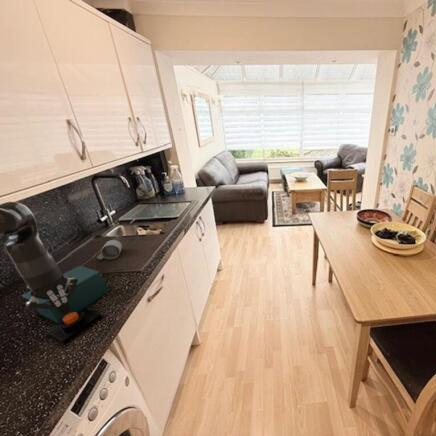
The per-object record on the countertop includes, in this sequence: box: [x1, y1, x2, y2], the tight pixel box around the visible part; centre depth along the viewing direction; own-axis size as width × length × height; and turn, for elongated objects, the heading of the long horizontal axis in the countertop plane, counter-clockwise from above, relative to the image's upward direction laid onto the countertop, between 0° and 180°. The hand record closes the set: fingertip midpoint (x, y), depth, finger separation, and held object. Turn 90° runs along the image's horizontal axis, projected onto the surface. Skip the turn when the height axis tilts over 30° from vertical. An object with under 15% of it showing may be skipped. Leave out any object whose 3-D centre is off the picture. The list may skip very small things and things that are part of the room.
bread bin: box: [35, 273, 110, 324], centre depth 89 cm, size 17×13×9 cm
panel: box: [46, 307, 102, 345], centre depth 79 cm, size 11×9×4 cm
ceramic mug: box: [97, 239, 123, 261], centre depth 118 cm, size 11×8×8 cm
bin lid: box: [21, 265, 101, 303], centre depth 86 cm, size 18×13×5 cm
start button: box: [63, 312, 79, 324], centre depth 78 cm, size 4×4×2 cm
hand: (66, 312), depth 77 cm, fingers closed
